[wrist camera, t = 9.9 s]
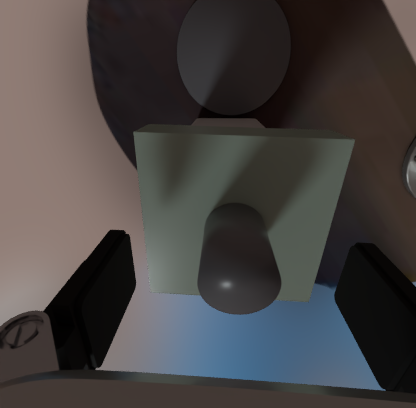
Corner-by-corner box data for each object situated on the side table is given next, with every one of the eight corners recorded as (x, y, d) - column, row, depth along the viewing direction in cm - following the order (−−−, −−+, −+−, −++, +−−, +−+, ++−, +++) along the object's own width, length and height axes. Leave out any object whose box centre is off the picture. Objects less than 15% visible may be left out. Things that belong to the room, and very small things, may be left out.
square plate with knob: (330, 130, 13) (424, 166, 7) (296, 272, 17) (336, 370, 11) (149, 124, 13) (89, 153, 7) (160, 264, 17) (128, 356, 12)
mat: (299, -15, 23) (301, -18, 23) (279, 116, 28) (281, 116, 28) (176, -17, 24) (175, -19, 23) (179, 113, 29) (178, 113, 28)
